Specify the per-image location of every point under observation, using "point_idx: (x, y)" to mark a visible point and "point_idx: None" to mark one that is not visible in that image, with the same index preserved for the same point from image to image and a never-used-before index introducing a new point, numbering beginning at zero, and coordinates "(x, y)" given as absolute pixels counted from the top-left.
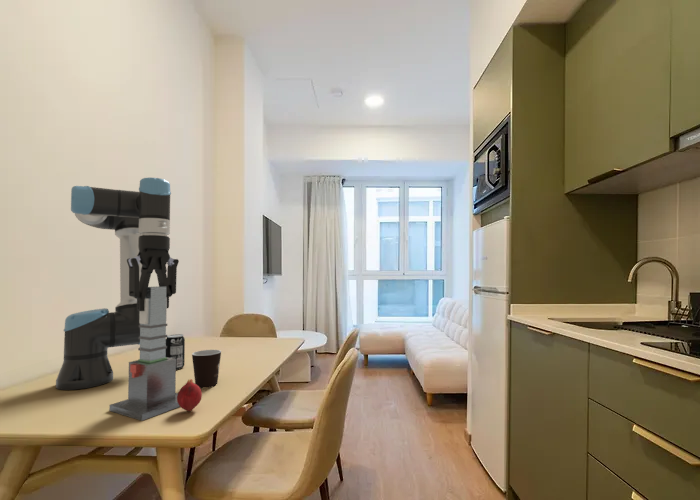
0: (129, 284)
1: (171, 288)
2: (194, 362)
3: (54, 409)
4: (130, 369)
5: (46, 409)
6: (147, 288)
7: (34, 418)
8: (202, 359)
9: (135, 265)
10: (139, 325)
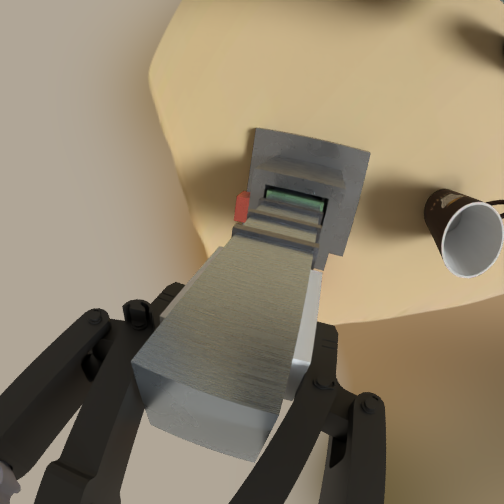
0: (46, 352)
1: (331, 450)
2: (441, 218)
3: (229, 25)
4: (241, 192)
5: (224, 13)
6: (143, 405)
7: (191, 42)
8: (439, 248)
9: (8, 463)
10: (232, 232)
